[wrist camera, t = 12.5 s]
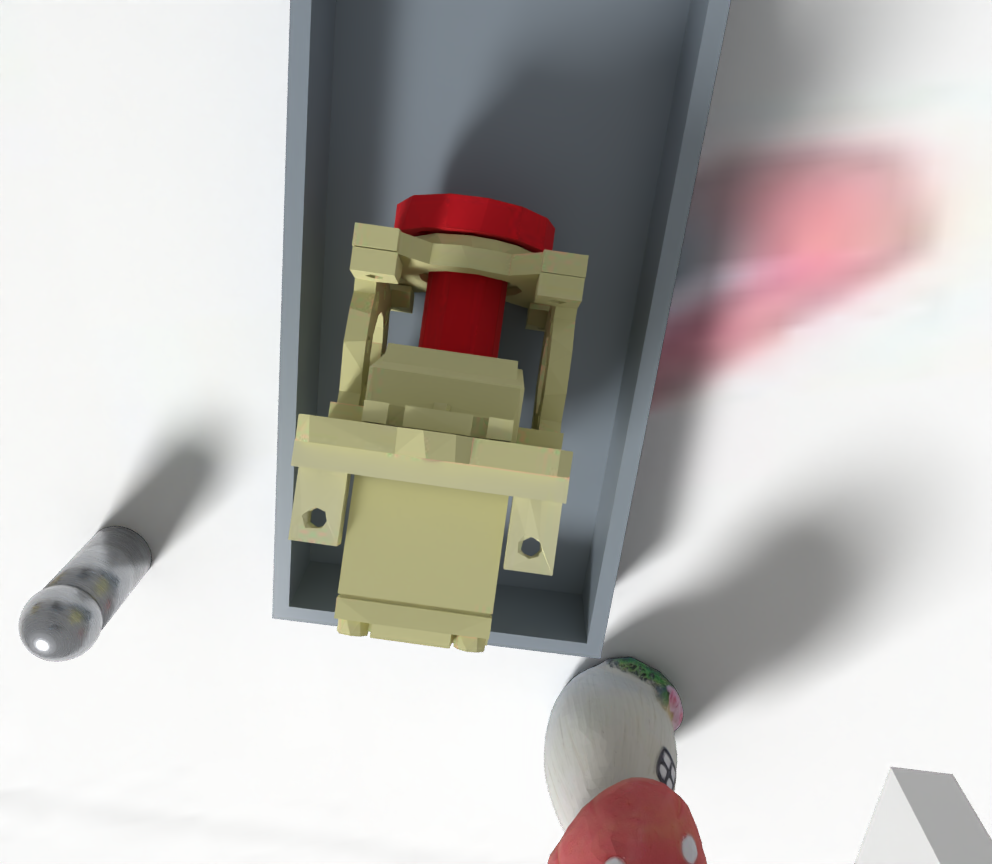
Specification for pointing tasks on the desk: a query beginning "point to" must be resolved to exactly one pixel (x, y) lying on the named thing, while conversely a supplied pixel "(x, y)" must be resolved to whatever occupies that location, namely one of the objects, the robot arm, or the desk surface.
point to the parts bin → (512, 179)
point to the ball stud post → (84, 595)
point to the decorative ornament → (618, 769)
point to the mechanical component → (441, 421)
